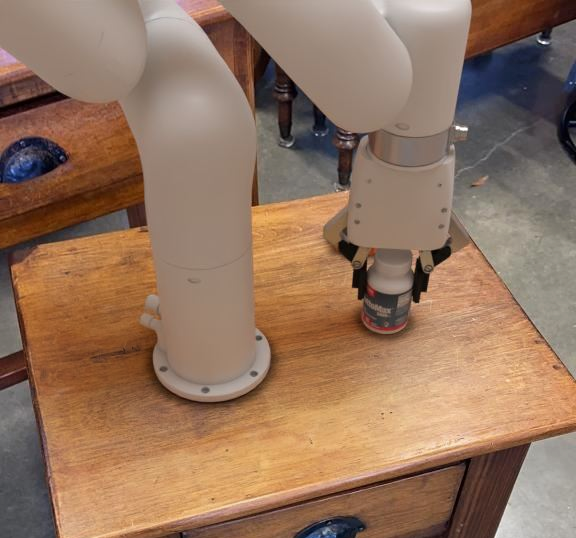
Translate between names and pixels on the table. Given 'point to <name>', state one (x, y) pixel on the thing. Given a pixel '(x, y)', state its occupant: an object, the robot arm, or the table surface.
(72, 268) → the table surface
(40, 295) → the table surface
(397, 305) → the pill bottle
